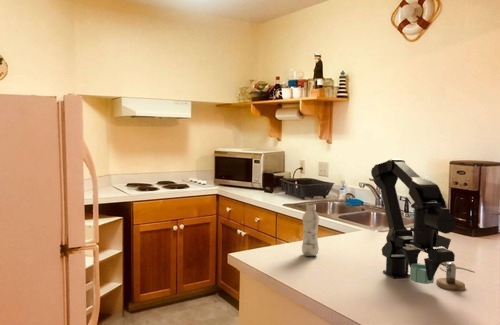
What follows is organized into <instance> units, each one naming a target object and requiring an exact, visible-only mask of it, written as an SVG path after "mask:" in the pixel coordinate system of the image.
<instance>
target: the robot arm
mask: <svg viewBox="0 0 500 325" xmlns="http://www.w3.org/2000/svg"><path fill="white" fill-rule="evenodd" d="M370 172H371V177H372V178H373V179H372V180H373V182H374V184H375V186H376V187H378V188H379V189H380V192H381V196H382V202H383V207H384V211H385V215H386V220H387V224H388V232H387V234H386V243H385V244H384V245H383V247H381V255H382V256H384V257H385V259H386V260H385V261H386V262H385V269H383V270H382V273H384V274H386V275H388V276H390V277H391V278H393V279H401V278H402V279H403V278H410V273H409V268H410V267H411V264H415V263H418V261H419V255H420V253H421V252H424V253H426V254H427V257H425V258H423V260H424V264H425V267H426V272H427V277H428V280H429V281H431V280H432V279H433V277H435V274H436V273H437V270H438V268H439V265H440V264H441V263H443V262H447V263H454V262H455V256H456V255H455V253H454V251H452V250H449V247H450V244H451V241H452V239H451V238H449V237H445V236H442V235H440V234H439V233H442V234H447V235H448V234H450V233H452V232H454V230H455V228H456V226H457V221H456V218H455V216H454V215H453V214H452V213H451V209H450V208H448V207H447V204H446V203H447V202H446V200H445V198H444V197H443V194H442V191H441V189H440V187H439V185H438V184H437V183H435V182H433V181H431V180H428V179H425V178H422V177H421V176H420V175H419V174H417V172H416V171H414V170H413V169H412V167H410V166H409V165H408V164H407V163H406V161H405V160H404V159H402V158H391V159H388V160H386V161H383V162H381V163H378V164H375V165H374V166H373V167H371V171H370ZM398 179H399V180H400V181H401V182H402V183H403V184H404V185H405V186H406V187H407V189H408V196H410V198H411V199H412V201H413V202H414V203H412V204H410V208H412V209H413V211H414V212H413V213H414V214H413V226H411V227H410V229H408V228H407V227H406V226H405V222H404V220H403V219H404V218H403V215H402V211H401V210H402V209H401V206H400V205H401V204H400V201H399V196H398V194H397V190H396V184H397V182H398V181H399V180H398Z"/></svg>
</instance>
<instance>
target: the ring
mask: <svg viewBox="0 0 500 325" xmlns="http://www.w3.org/2000/svg"><path fill="white" fill-rule="evenodd" d="M409 270H410V271H409V272H410V273H409V274H410V277H409V280H411V281H412V282H414V283H417V284H423V285H428V284H429V285H430V284H434V281H435V280H434V279H435V278H434V277H435V276H434V277H433V279H432V280H431V281H429V280H428V277H427V272H426V267H425V263H418V262H417V263H415V264H411V267H410V266H409Z"/></svg>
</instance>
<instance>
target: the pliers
mask: <svg viewBox="0 0 500 325" xmlns="http://www.w3.org/2000/svg"><path fill="white" fill-rule="evenodd" d="M448 263H449V262H443V263H441V264H442V265H441V264H440V265H439V267H438V268H439V270H441V271H443V272H444V271H445V273H446V270H447V264H448ZM444 266H445V267H444ZM455 266H456V269H462V270H465V271H468V272H470V273H471V272H472V273H475V271H474V270H473V269H471V268H468V267H465V266H461V265H457V264H455Z"/></svg>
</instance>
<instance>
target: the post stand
mask: <svg viewBox="0 0 500 325" xmlns="http://www.w3.org/2000/svg"><path fill="white" fill-rule="evenodd" d="M447 263H448V264H447V270H446V272H445V274H446V275H445V277H440V278H437V279H436V281H435V282H436V285H437V286H438V287H439V288H442V289H444V290H447V289H448V290H449V291H453V292H457V291H458V292H459V291H464V290H465V289H466V284H465V283H464V282H463V281H461V280H458V279H456V277H457V276H456V273H457V268H456V266H455V265H456V264H455V263H454V262H447Z"/></svg>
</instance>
